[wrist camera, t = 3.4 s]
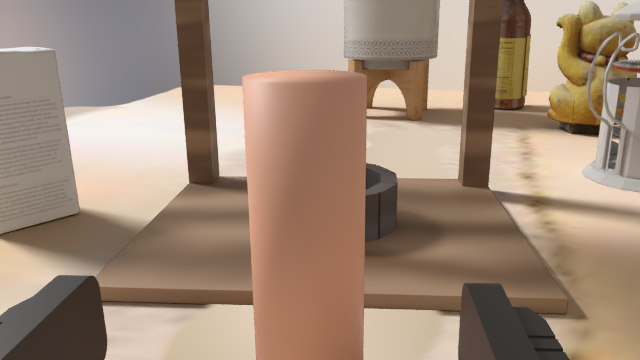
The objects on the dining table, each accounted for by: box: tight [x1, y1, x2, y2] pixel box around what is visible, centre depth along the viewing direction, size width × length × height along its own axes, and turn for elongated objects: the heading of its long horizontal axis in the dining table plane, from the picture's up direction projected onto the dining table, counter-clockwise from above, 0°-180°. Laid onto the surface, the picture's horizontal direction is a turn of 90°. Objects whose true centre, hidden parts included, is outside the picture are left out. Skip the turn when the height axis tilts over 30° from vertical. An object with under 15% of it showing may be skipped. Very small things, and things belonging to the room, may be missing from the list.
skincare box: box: [0, 47, 80, 234], centre depth 39 cm, size 6×4×12 cm
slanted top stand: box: [95, 0, 568, 314], centre depth 34 cm, size 21×26×27 cm
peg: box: [242, 70, 367, 360], centre depth 22 cm, size 4×4×12 cm
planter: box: [344, 0, 440, 120], centre depth 79 cm, size 13×13×18 cm
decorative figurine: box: [547, 1, 637, 134], centre depth 66 cm, size 10×8×15 cm
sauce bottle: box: [494, 0, 531, 110], centre depth 82 cm, size 7×6×20 cm
